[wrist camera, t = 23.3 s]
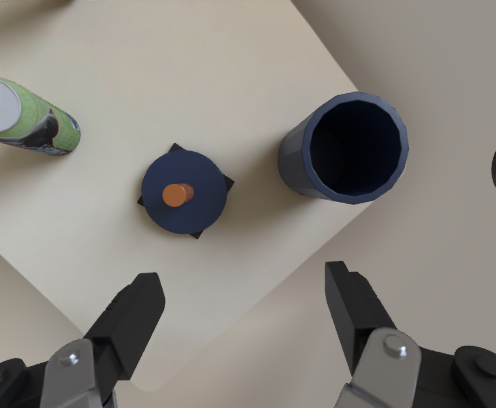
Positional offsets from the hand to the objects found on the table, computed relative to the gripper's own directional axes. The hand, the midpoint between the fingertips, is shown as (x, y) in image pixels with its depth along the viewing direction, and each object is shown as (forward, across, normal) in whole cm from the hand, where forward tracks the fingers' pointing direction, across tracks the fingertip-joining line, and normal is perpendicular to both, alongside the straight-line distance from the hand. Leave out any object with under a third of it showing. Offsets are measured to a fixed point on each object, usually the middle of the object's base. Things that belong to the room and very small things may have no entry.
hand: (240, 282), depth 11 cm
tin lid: (+22, +10, +2) cm, 25 cm away
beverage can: (+24, +25, -8) cm, 36 cm away
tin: (+27, -8, 0) cm, 28 cm away
